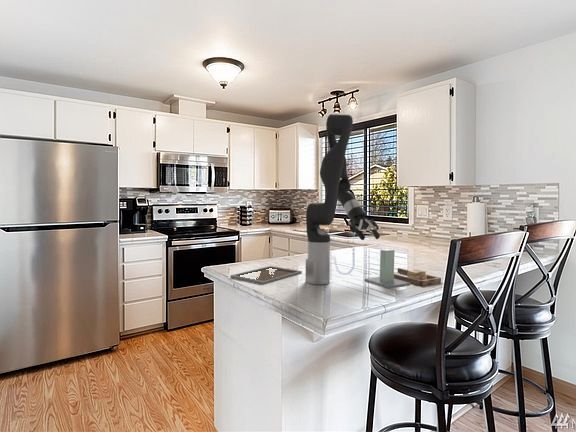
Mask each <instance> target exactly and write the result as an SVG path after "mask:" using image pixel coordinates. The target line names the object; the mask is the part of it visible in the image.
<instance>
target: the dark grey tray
mask: <svg viewBox="0 0 576 432" xmlns="http://www.w3.org/2000/svg"><path fill="white" fill-rule="evenodd" d="M269 268H272V269H277V270H275V272H273V273H274V275H273V274H271V275H270V274H269V270H266V269H269ZM258 271H261V273H260V276H259V278H258V277H257V278H258V279H257V278H256V280H255V279H250V278H245V277H240V275H244V274H248V273H252V272H258ZM271 273H272V272H271ZM300 274H303V271H302V270H297V269H293V268H292V269H291V268H289V267H288V268H284V267H280V266H275V265H274V266H273V265H268V266H265V267H260V268H257V269H252V270H249V271H247V270H246V271H244V272H240V273H236V274H231V275H230V276H229V277H231V279H233V278H236V279H235V280H238V279H241V280H240V281H243V280H245V281H244V282H247V281H249V283H252V282H254V283H253V284H257V283H258V284H257V285H261V284H262V285H267V283H268V284H271V283H274V282H278V281H280V280H285V279H287V278H290V277H293V276H297V275H300ZM272 276H273V277H272ZM277 280H278V281H277ZM270 282H271V283H270ZM262 285H261V286H262Z"/></svg>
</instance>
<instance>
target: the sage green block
mask: <svg viewBox="0 0 576 432" xmlns="http://www.w3.org/2000/svg"><path fill="white" fill-rule="evenodd" d="M379 251H380V253H379V254H380V255H379V256H380V257H379V260H380V261H379V277H380V281H383V282H389V281H394V274H395V249H391V248H387V249H386V248H385V249H380V250H379Z"/></svg>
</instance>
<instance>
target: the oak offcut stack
mask: <svg viewBox="0 0 576 432" xmlns="http://www.w3.org/2000/svg"><path fill="white" fill-rule="evenodd" d="M426 272H427V271H425V270H422V269H417V268H416V269H409V271H407V274H408V275H407V277H410V278H414V279H417V280H427V275H428V274H426Z"/></svg>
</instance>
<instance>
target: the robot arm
mask: <svg viewBox="0 0 576 432" xmlns="http://www.w3.org/2000/svg"><path fill="white" fill-rule="evenodd" d="M353 120H354V119H353V116H352V115H350V114H346V113H345V114H341V113H340V114H337V113H332V114H329V115H328V116H327V119H326V121H325V124H326V125H325V127H326V135H327V141H328V147H329V150H328V152H327V153H326V154H325V155H324V156H323V158H322V161H321V165H320V169H319V176H320V180H321V182H322V184H323V186H324V189H325V199H324V202H310V203H309V204H307V207H306V212H305V224H306V236H307V258H306V259H305V283H308V284H311V285H328V284H330V280H331V277H330V276H331V271H330V270H331V269H330V268H331V265H330V263H331V235H330V234H329V233H327V232H325V231H324V230H322V228H321V226H330V225H332V224H333V222H334V219H335V215H336V208H337V200H338V202H339V203H340V204H341V205H342V207H343V209H344V211H345V214H346V215H347V217H348V219H349V221H348V222H347V225H348V227H349V229H350V231H351V232H352V234H355V235H357V236H358V237H359V239H360V240H361V241H364V240H365V239H366V236H365V234H364V233H363V231H362V230H366V231H368V232H371V233H372V235H373V236H374V238H375V240H379V239H380V236H381V235H380V233H379V232H378V231H379V229H380V227H379V225H378V224H377V222H376V221H375V220H374V218H371V219H368V218H367V213H366V212H365V210H364V209H363V207H362V205H361V204H360V203H359V202H358V200H357V199H356V197H355V195H354V194H353V192H351V191H350V190H351V187H352V186H351V182H350V179H349V176H348V171H347V169H348V168H347V167H348V166H347V165H348V162H347V161H348V160H347V158H346V152H347V148H348V144H349V140H350V137H351V134H352V130H353V126H354V121H353ZM337 136H338V137H339V139H338V141H337V138H336V137H337Z"/></svg>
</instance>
